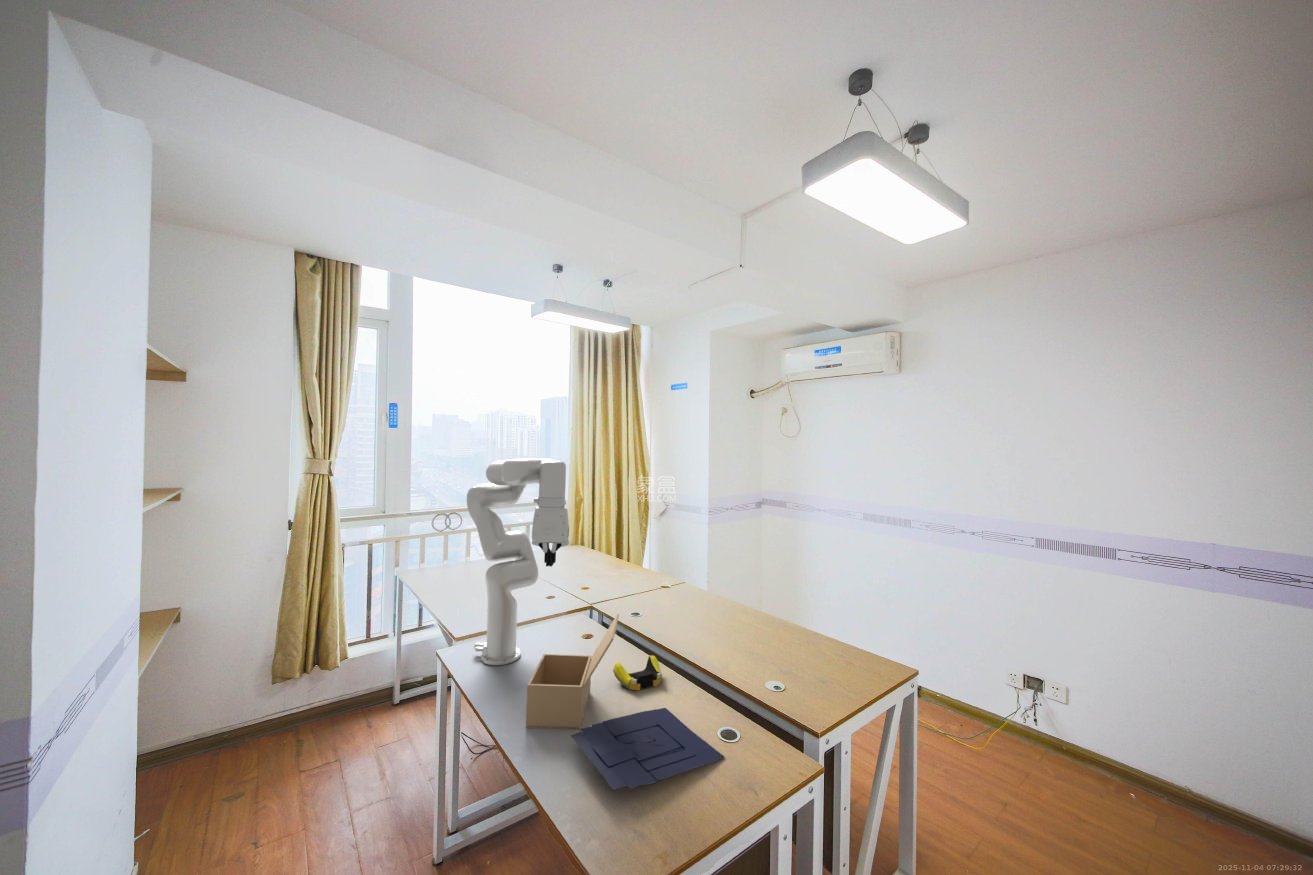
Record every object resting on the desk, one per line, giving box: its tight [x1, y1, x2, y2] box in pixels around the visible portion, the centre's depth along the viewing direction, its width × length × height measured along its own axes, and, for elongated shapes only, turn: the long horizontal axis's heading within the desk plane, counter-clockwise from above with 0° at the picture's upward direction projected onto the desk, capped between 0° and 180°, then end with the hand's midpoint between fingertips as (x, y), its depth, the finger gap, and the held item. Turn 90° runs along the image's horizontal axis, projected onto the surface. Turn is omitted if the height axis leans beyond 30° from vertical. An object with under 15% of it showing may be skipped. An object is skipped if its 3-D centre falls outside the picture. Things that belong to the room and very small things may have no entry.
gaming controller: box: [612, 654, 662, 691], centre depth 143 cm, size 15×6×10 cm
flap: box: [584, 613, 620, 686], centre depth 127 cm, size 14×17×1 cm
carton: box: [525, 653, 592, 731], centre depth 127 cm, size 14×17×11 cm
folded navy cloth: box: [569, 707, 725, 790], centre depth 111 cm, size 24×30×4 cm
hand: (549, 565), depth 136 cm, fingers closed
